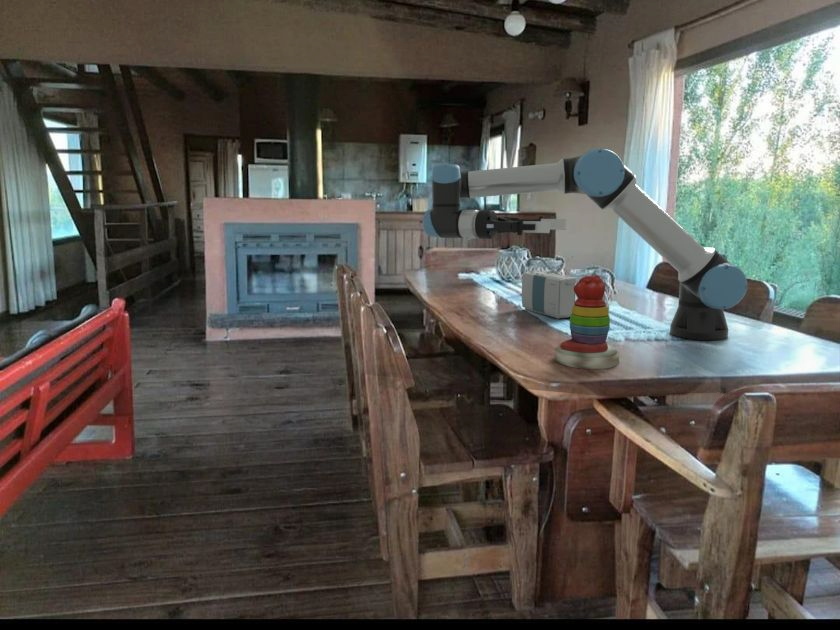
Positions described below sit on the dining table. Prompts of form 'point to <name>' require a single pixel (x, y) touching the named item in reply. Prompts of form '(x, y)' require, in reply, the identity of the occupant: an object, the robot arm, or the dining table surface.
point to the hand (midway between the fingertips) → (558, 225)
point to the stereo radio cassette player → (548, 293)
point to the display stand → (588, 358)
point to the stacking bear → (588, 318)
